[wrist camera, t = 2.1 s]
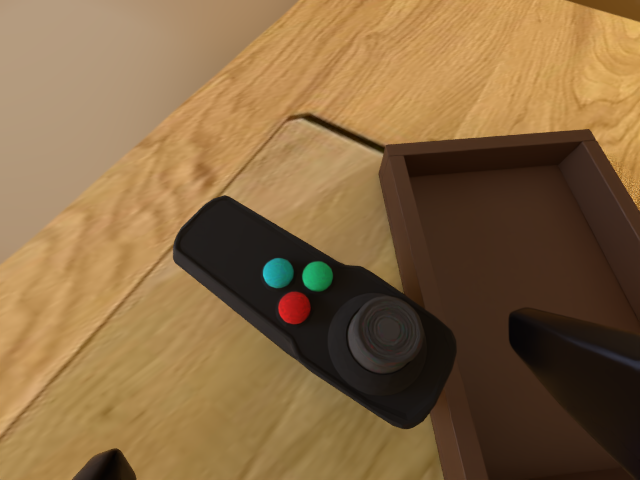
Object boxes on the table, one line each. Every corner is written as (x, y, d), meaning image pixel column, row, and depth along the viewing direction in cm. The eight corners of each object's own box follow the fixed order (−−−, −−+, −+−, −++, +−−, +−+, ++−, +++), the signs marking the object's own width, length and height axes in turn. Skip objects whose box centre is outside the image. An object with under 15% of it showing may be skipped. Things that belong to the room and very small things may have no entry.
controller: (379, 429, 17) (443, 467, 8) (206, 298, 20) (113, 219, 11) (417, 358, 18) (508, 322, 9) (251, 246, 22) (201, 139, 13)
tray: (726, 476, 16) (812, 493, 13) (450, 510, 16) (478, 535, 13) (559, 158, 25) (590, 128, 22) (378, 173, 24) (385, 144, 21)
